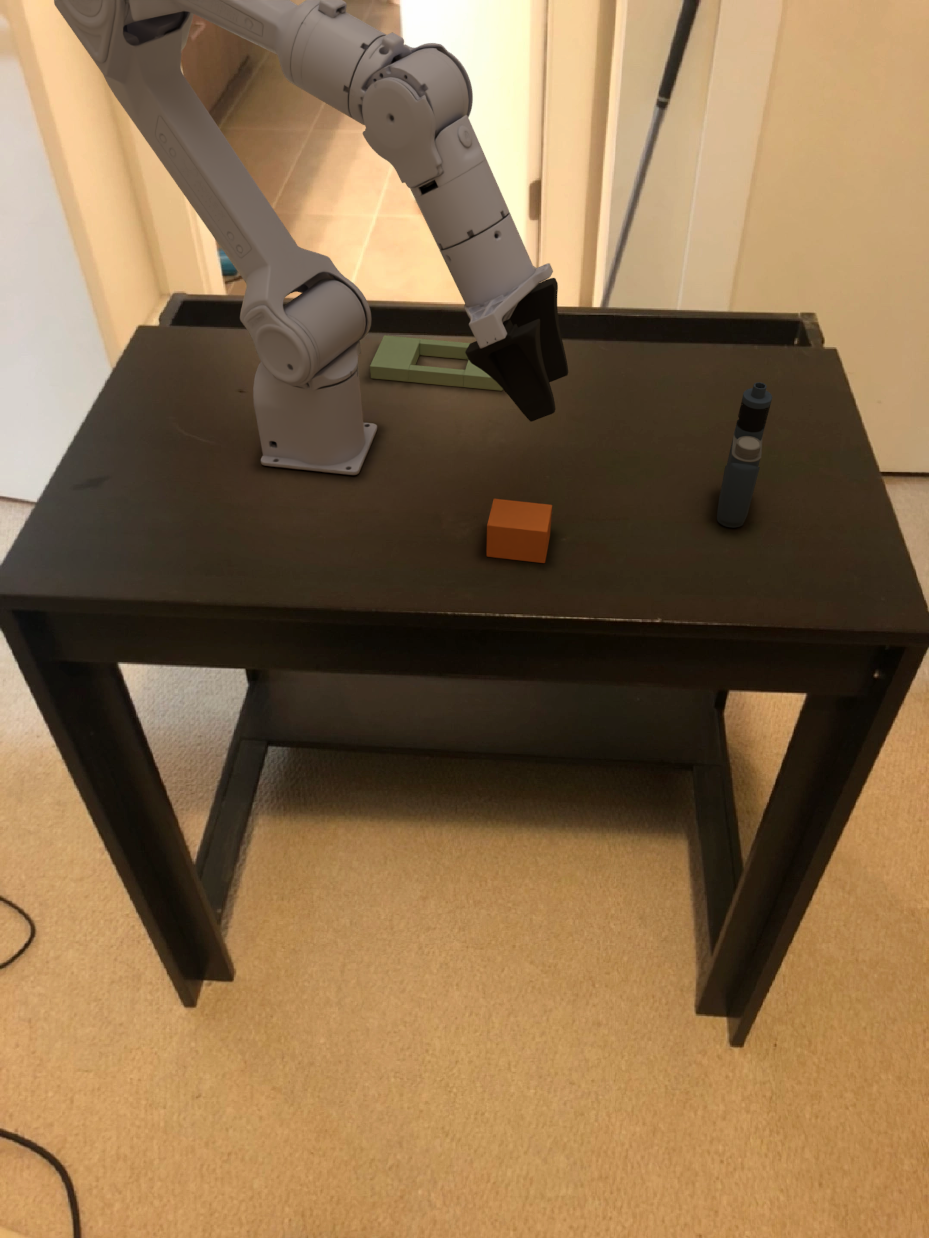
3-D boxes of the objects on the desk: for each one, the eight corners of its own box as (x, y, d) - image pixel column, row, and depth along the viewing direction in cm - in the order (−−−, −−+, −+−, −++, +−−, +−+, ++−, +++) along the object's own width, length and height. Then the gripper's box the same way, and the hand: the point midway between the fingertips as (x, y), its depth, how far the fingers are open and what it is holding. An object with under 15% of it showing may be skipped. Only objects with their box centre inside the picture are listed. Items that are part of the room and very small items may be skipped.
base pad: (370, 378, 103) (369, 365, 102) (384, 347, 108) (383, 335, 106) (502, 391, 101) (502, 378, 100) (511, 359, 106) (511, 346, 105)
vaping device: (747, 495, 89) (776, 379, 81) (744, 532, 86) (775, 414, 77) (718, 491, 90) (744, 375, 81) (714, 527, 86) (741, 410, 77)
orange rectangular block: (486, 556, 83) (486, 525, 81) (492, 529, 86) (493, 498, 83) (544, 563, 83) (547, 532, 80) (549, 536, 85) (552, 504, 83)
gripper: (505, 232, 64) (586, 415, 70) (539, 185, 75) (606, 345, 81) (413, 276, 67) (498, 448, 73) (459, 225, 78) (529, 376, 84)
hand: (550, 396), depth 77 cm, fingers open, 7 cm apart
